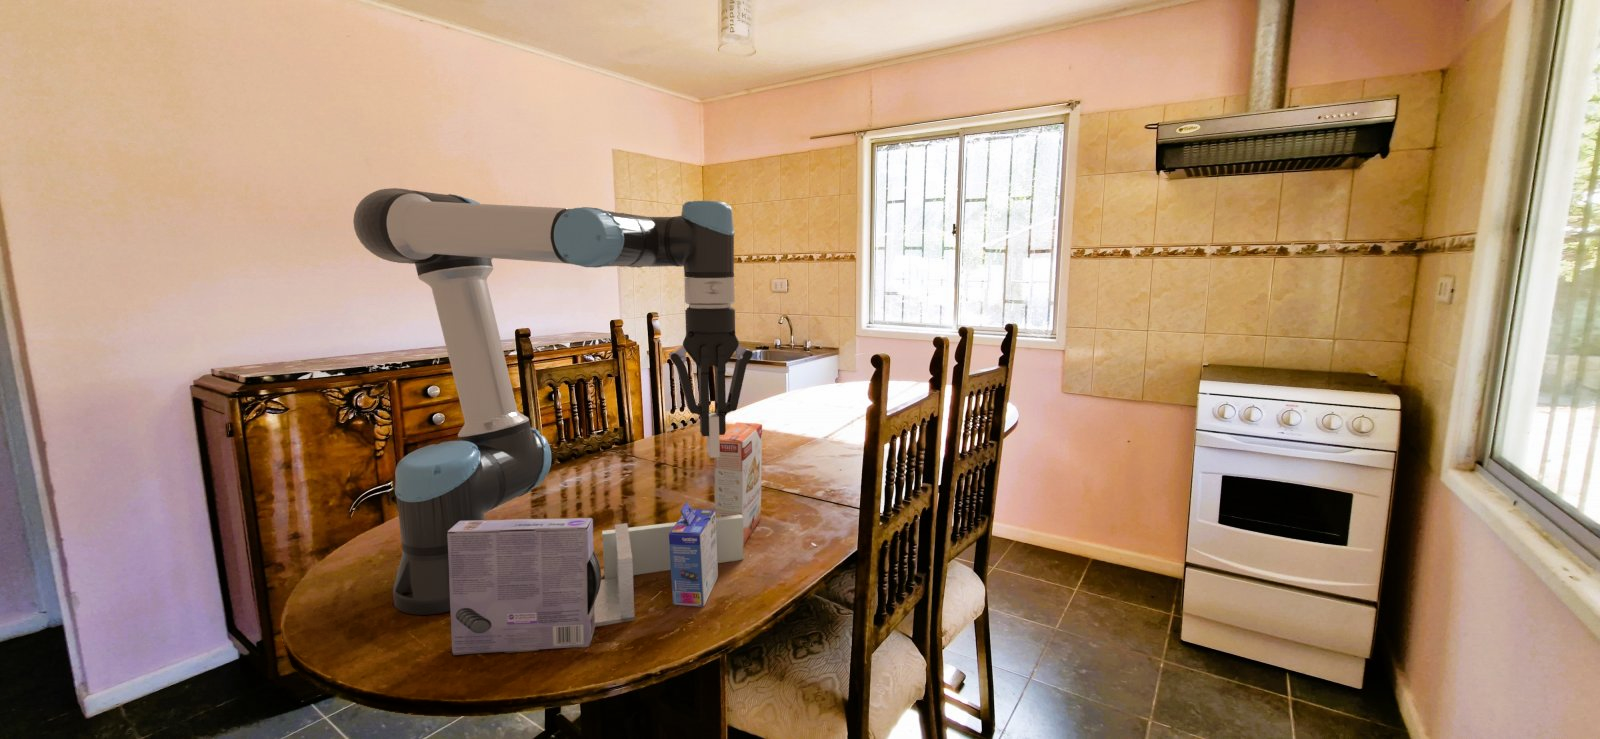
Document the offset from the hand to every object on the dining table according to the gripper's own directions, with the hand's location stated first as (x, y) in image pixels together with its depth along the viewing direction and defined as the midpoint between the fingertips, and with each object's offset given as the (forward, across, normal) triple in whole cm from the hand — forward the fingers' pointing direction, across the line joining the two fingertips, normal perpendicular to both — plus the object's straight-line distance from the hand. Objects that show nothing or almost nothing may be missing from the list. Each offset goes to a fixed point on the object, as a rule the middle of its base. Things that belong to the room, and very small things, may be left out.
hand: (713, 454), depth 99 cm
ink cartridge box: (+23, -4, 0) cm, 23 cm away
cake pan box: (+23, -28, -7) cm, 37 cm away
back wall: (+23, -6, +9) cm, 25 cm away
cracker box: (+23, +8, +20) cm, 32 cm away
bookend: (+23, -17, +1) cm, 29 cm away
